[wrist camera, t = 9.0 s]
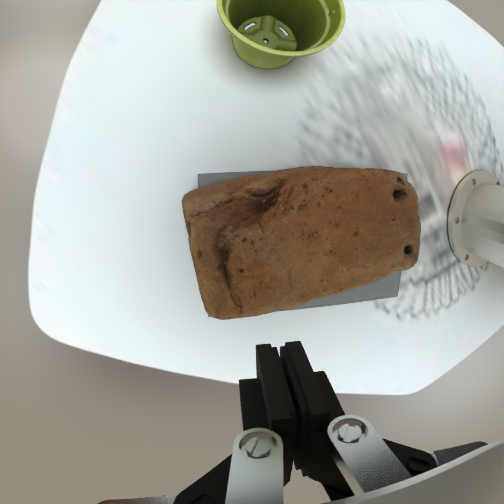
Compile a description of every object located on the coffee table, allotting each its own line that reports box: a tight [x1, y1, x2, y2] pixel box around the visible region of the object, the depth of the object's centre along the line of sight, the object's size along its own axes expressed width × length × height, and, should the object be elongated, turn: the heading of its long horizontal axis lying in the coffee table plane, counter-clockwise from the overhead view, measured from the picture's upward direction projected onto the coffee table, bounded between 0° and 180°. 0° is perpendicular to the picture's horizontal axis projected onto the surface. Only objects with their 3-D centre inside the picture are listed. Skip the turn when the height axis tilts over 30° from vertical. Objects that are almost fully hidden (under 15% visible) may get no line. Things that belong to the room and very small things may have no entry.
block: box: [182, 166, 421, 320], centre depth 26 cm, size 11×8×20 cm
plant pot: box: [217, 0, 345, 69], centre depth 21 cm, size 9×9×9 cm
